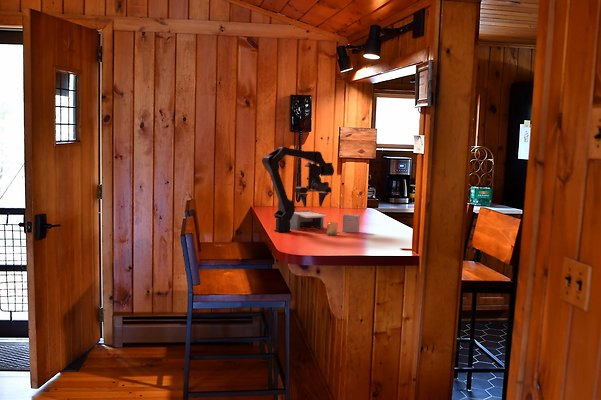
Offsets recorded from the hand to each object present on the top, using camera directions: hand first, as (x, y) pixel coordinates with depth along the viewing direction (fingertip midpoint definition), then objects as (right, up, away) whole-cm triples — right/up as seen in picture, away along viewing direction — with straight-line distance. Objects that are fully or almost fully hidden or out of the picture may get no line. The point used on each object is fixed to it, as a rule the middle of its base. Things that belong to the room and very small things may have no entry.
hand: (312, 206), depth 336 cm
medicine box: (+19, -13, 0) cm, 23 cm away
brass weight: (+9, -14, -12) cm, 20 cm away
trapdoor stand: (-5, -11, +9) cm, 15 cm away
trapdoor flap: (-3, -8, +5) cm, 10 cm away
